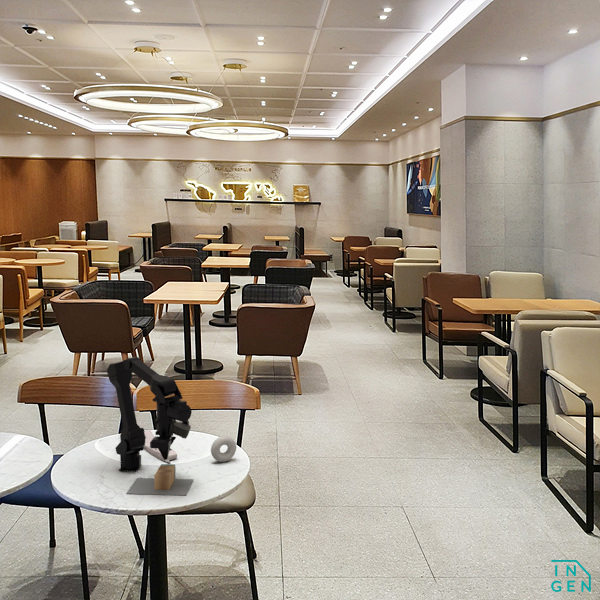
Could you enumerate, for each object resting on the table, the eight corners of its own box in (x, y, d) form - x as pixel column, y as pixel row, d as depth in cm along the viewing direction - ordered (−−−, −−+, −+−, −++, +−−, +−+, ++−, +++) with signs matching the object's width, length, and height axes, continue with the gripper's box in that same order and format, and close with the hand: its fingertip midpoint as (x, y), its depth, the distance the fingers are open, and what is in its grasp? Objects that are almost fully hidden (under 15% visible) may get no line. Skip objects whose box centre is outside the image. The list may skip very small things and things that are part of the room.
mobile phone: (149, 429, 270) (180, 446, 251) (150, 443, 270) (181, 461, 251) (136, 432, 266) (166, 449, 247) (136, 446, 267) (167, 465, 248)
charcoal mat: (126, 494, 221) (126, 493, 221) (137, 478, 234) (137, 477, 234) (186, 495, 221) (186, 494, 221) (193, 480, 234) (193, 479, 234)
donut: (212, 465, 247) (212, 439, 246) (209, 462, 251) (209, 436, 249) (237, 461, 252) (237, 435, 251) (234, 457, 255) (234, 432, 254)
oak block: (161, 477, 235) (154, 489, 225) (161, 464, 234) (154, 475, 224) (175, 478, 234) (169, 489, 225) (175, 464, 234) (169, 475, 224)
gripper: (183, 424, 218) (183, 470, 220) (193, 408, 237) (194, 450, 239) (149, 424, 219) (150, 469, 221) (162, 407, 237) (163, 449, 239)
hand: (165, 459), depth 230 cm, fingers closed
